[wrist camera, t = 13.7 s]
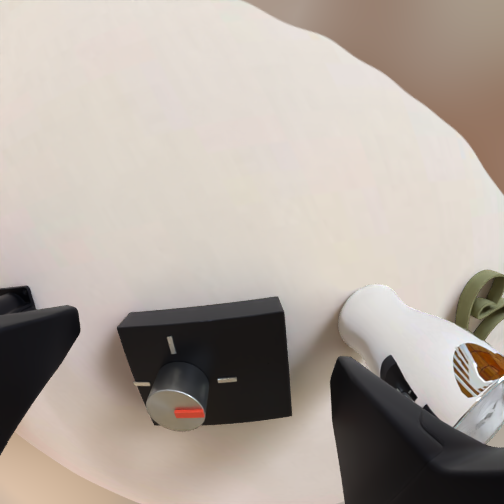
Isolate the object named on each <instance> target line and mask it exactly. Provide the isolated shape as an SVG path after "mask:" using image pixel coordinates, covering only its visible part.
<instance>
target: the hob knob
mask: <svg viewBox="0 0 504 504" xmlns="http://www.w3.org/2000/svg"><path fill="white" fill-rule="evenodd" d="M208 391H209V382H208V379H207V377H206V375H205V374H204V373H203V372H202V371H201V370H200V369H199V368H197V367H196V366H194V365H191V364H189V363H185V362H172V363H168V364H166V365H164V366H163V367H162V368H161V369H160V370H159V372H158V374H157V377H156V379H155V382H154V384H153V387H152V389H151V391H150V394H149V396H148V399H147V402H146V408H147V411H148V413H149V415H150V416H151V418H152V419H153V420H154V421H155V422H157V423H158V424H159V425H161V426H163V427H165V428H167V429H170V430H174V431H191V430H194V429H196V428H198V427H199V426H201V425H202V424H203V422H204V420H205V415H206V407H207V399H208Z"/></svg>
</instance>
